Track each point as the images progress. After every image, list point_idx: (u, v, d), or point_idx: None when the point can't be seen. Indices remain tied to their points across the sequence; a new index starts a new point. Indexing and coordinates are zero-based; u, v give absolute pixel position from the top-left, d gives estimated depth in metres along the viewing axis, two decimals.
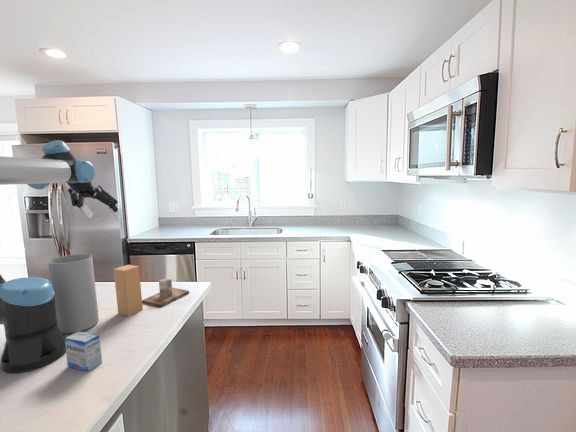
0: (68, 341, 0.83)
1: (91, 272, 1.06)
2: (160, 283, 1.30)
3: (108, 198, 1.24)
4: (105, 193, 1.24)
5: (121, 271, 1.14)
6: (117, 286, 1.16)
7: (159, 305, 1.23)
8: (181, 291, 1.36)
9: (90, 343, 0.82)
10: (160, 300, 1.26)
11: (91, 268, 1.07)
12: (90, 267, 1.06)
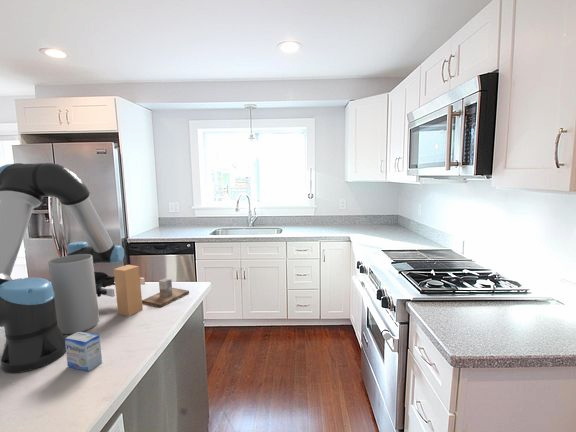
0: (68, 341, 0.83)
1: (91, 273, 1.06)
2: (160, 283, 1.30)
3: None
4: None
5: (121, 271, 1.14)
6: (117, 286, 1.16)
7: (159, 305, 1.23)
8: (181, 291, 1.36)
9: (90, 343, 0.82)
10: (160, 300, 1.26)
11: (91, 269, 1.06)
12: (90, 268, 1.05)
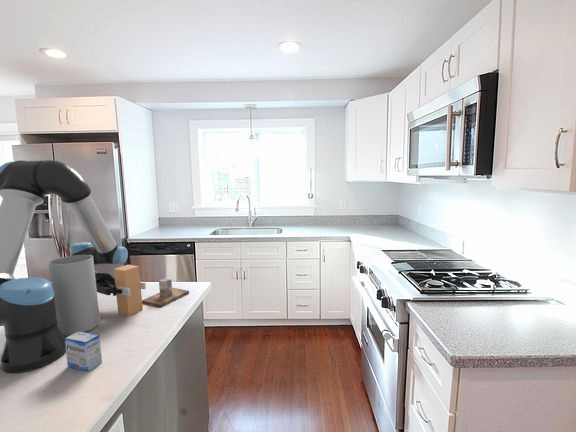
0: (68, 341, 0.83)
1: (89, 274, 1.04)
2: (160, 283, 1.30)
3: None
4: None
5: (121, 271, 1.14)
6: None
7: (159, 305, 1.23)
8: (181, 291, 1.36)
9: (90, 343, 0.82)
10: (160, 300, 1.26)
11: (90, 270, 1.04)
12: (88, 269, 1.03)
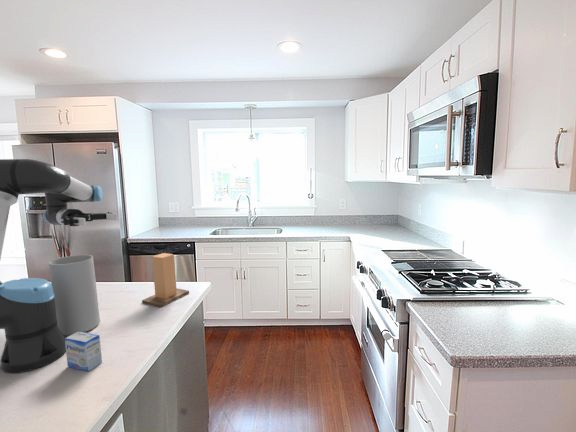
0: (68, 341, 0.83)
1: (90, 274, 1.04)
2: None
3: None
4: None
5: (159, 258, 1.26)
6: (155, 272, 1.29)
7: (159, 305, 1.23)
8: (181, 291, 1.36)
9: (90, 343, 0.82)
10: (160, 300, 1.26)
11: (90, 270, 1.04)
12: (88, 269, 1.03)
